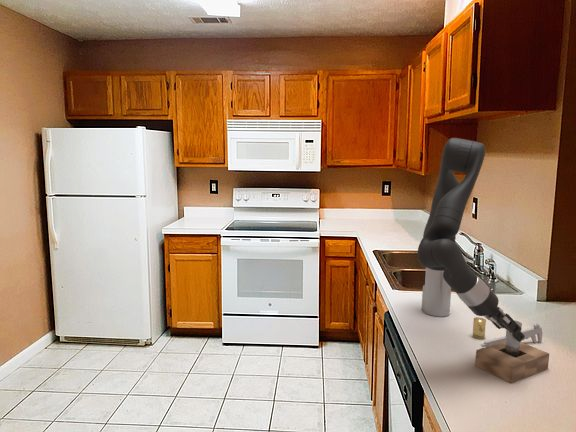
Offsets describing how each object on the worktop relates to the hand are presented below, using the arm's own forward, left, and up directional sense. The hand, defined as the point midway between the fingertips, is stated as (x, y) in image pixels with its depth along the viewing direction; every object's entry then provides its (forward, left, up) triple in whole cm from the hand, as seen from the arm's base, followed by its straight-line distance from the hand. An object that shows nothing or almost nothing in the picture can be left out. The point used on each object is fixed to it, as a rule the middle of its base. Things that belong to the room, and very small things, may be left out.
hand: (511, 332), depth 119 cm
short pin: (-17, +10, -10) cm, 22 cm away
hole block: (0, +1, -10) cm, 10 cm away
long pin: (0, +1, -10) cm, 10 cm away
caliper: (-9, +15, -11) cm, 20 cm away
